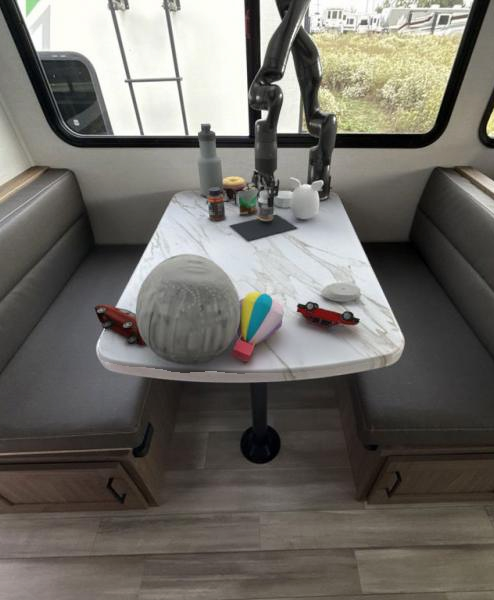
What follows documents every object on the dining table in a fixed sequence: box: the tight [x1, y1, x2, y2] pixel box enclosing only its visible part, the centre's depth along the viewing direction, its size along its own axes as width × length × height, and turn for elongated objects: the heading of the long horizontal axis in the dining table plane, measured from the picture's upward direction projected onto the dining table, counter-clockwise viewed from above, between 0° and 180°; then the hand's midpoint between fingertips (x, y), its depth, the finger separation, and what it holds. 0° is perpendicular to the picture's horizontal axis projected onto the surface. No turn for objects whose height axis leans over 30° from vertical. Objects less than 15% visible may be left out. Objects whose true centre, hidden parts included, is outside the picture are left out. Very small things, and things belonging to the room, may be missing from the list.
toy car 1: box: [94, 304, 146, 346], centre depth 75 cm, size 6×15×5 cm
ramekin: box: [274, 190, 294, 209], centre depth 139 cm, size 9×9×4 cm
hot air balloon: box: [231, 291, 285, 363], centre depth 72 cm, size 11×15×11 cm
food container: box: [237, 181, 259, 217], centre depth 130 cm, size 12×6×10 cm, turn 168°
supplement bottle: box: [206, 187, 226, 222], centre depth 125 cm, size 6×6×11 cm
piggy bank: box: [288, 176, 323, 220], centre depth 125 cm, size 12×12×15 cm
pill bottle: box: [257, 190, 275, 221], centre depth 121 cm, size 6×6×10 cm
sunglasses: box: [206, 188, 237, 205], centre depth 139 cm, size 11×12×5 cm
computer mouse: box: [321, 282, 362, 303], centre depth 87 cm, size 6×10×3 cm, turn 83°
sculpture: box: [135, 253, 240, 365], centre depth 70 cm, size 20×20×30 cm
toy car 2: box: [296, 301, 361, 328], centre depth 77 cm, size 6×14×5 cm
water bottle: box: [197, 123, 224, 198], centre depth 141 cm, size 10×10×28 cm
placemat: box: [229, 214, 298, 242], centre depth 122 cm, size 20×14×1 cm
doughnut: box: [222, 176, 246, 191], centre depth 155 cm, size 11×11×4 cm
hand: (266, 204), depth 121 cm, fingers closed on pill bottle, 5 cm apart
